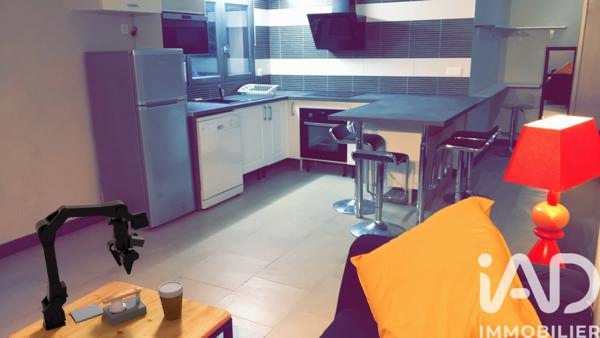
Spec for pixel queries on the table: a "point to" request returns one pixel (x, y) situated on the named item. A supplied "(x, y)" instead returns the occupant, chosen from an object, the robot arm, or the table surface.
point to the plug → (117, 306)
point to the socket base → (126, 310)
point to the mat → (86, 312)
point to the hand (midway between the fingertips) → (124, 270)
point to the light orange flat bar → (121, 295)
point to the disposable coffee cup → (171, 299)
